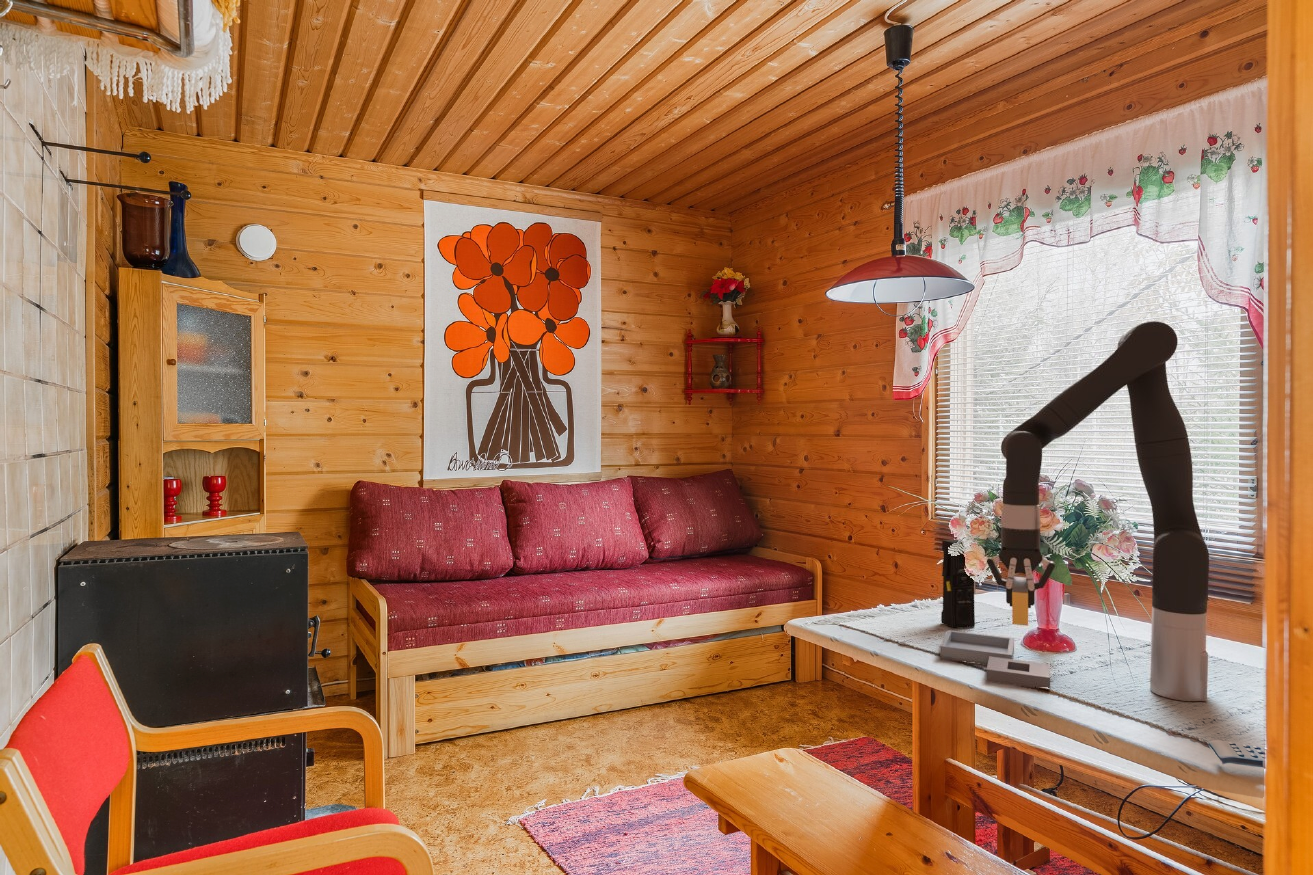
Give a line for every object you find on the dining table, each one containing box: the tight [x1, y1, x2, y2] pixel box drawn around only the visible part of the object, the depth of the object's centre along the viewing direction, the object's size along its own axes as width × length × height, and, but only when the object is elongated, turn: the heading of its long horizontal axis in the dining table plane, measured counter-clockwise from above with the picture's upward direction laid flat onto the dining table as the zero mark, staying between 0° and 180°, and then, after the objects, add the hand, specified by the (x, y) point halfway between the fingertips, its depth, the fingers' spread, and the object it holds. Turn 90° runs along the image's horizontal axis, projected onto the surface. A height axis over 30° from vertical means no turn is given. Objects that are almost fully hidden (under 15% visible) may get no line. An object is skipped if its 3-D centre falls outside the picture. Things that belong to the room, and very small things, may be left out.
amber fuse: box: [1011, 576, 1029, 626], centre depth 169 cm, size 3×4×9 cm, turn 154°
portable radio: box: [940, 539, 976, 629], centre depth 211 cm, size 8×6×25 cm
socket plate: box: [986, 656, 1051, 689], centre depth 169 cm, size 12×10×2 cm
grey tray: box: [939, 630, 1015, 666], centre depth 186 cm, size 15×15×3 cm
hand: (1020, 606), depth 169 cm, fingers closed on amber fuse, 2 cm apart
